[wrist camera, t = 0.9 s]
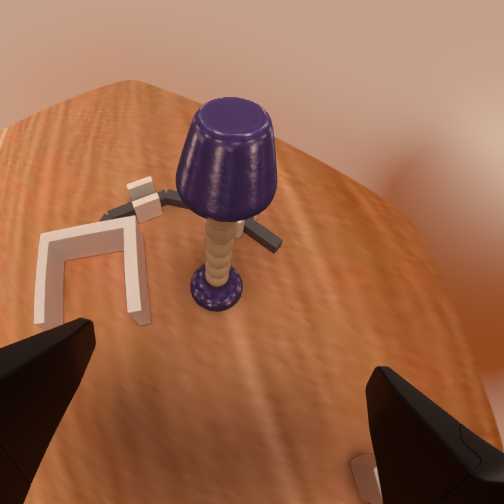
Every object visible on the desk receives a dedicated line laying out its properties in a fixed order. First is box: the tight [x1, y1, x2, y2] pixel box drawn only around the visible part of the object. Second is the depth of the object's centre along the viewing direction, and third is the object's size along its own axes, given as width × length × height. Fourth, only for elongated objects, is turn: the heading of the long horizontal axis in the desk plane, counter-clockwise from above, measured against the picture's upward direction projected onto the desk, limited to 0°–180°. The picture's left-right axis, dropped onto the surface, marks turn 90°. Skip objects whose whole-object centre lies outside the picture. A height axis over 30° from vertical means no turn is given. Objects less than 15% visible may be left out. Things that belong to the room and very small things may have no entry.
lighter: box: [349, 453, 383, 504], centre depth 14 cm, size 7×2×8 cm, turn 16°
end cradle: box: [34, 216, 151, 331], centre depth 22 cm, size 8×9×4 cm
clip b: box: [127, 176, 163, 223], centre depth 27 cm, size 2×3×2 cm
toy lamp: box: [176, 97, 277, 311], centre depth 18 cm, size 5×5×17 cm
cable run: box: [99, 190, 283, 253], centre depth 27 cm, size 6×17×1 cm, turn 89°
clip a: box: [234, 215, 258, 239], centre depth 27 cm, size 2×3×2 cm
